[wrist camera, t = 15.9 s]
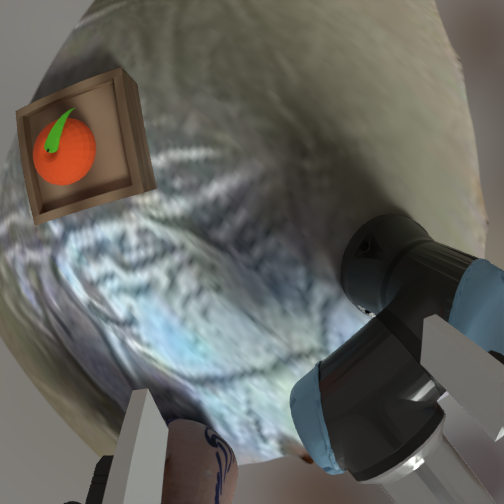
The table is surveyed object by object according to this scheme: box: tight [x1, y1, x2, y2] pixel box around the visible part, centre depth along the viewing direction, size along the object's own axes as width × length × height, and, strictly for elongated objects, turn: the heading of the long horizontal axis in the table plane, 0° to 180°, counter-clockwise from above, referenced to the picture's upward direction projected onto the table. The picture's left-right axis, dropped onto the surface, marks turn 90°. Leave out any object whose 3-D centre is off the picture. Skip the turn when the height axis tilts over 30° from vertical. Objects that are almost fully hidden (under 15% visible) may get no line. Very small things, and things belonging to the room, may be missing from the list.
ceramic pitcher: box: [161, 418, 238, 504], centre depth 36 cm, size 18×21×25 cm
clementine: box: [33, 108, 96, 186], centre depth 27 cm, size 8×7×7 cm
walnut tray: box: [16, 67, 157, 225], centre depth 32 cm, size 14×14×8 cm
